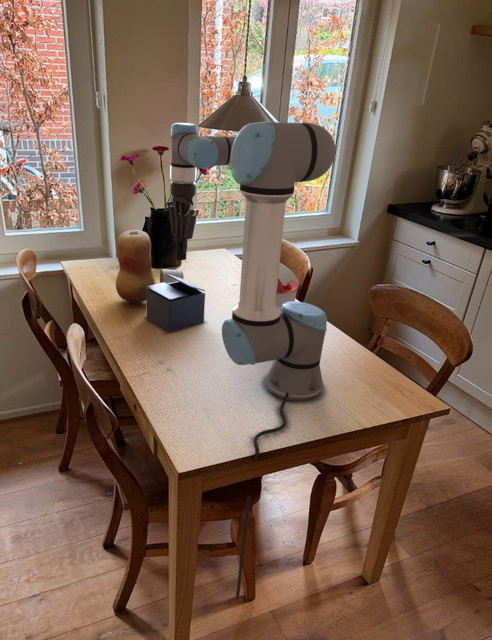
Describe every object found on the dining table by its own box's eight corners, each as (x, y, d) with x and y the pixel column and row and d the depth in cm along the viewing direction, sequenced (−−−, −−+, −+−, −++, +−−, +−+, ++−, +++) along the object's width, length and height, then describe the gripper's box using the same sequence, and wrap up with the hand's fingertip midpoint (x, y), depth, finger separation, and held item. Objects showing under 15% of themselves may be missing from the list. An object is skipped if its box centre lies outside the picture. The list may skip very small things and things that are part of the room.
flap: (180, 279, 179) (181, 278, 179) (204, 291, 171) (205, 290, 171) (165, 274, 174) (166, 273, 174) (189, 287, 166) (190, 285, 166)
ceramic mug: (184, 292, 199) (184, 272, 195) (162, 293, 196) (162, 273, 193) (178, 282, 207) (178, 263, 204) (157, 283, 205) (157, 264, 202)
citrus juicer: (301, 330, 176) (310, 271, 166) (276, 348, 163) (284, 287, 153) (260, 317, 183) (266, 260, 173) (233, 334, 170) (238, 274, 160)
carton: (180, 309, 185) (181, 278, 179) (203, 322, 176) (205, 290, 171) (146, 318, 177) (146, 286, 171) (169, 332, 168) (169, 299, 163)
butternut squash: (110, 306, 183) (107, 234, 171) (123, 292, 195) (121, 224, 182) (149, 311, 182) (149, 239, 169) (160, 297, 193) (160, 228, 180)
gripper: (207, 184, 154) (203, 263, 166) (180, 176, 162) (178, 252, 174) (186, 186, 149) (184, 267, 161) (159, 178, 158) (159, 255, 170)
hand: (181, 259), depth 168 cm, fingers closed
